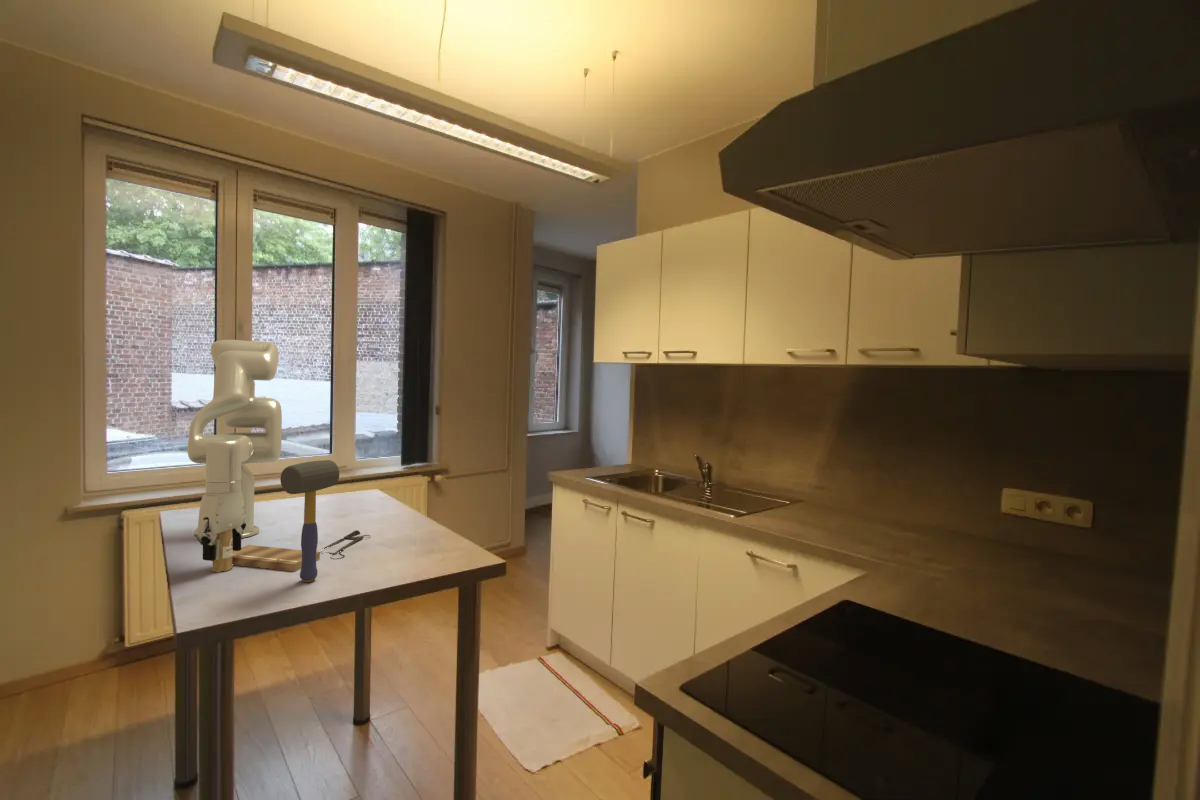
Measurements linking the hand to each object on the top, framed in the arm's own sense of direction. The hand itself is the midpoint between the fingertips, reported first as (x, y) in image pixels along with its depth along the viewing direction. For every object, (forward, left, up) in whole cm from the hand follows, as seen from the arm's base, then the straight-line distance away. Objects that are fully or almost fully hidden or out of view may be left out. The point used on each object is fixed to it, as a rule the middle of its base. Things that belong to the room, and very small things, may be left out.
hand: (222, 554), depth 143 cm
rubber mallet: (+25, -1, -4) cm, 26 cm away
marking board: (+7, +9, -4) cm, 12 cm away
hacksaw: (+18, +27, -4) cm, 32 cm away
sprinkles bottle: (0, 0, -4) cm, 4 cm away
